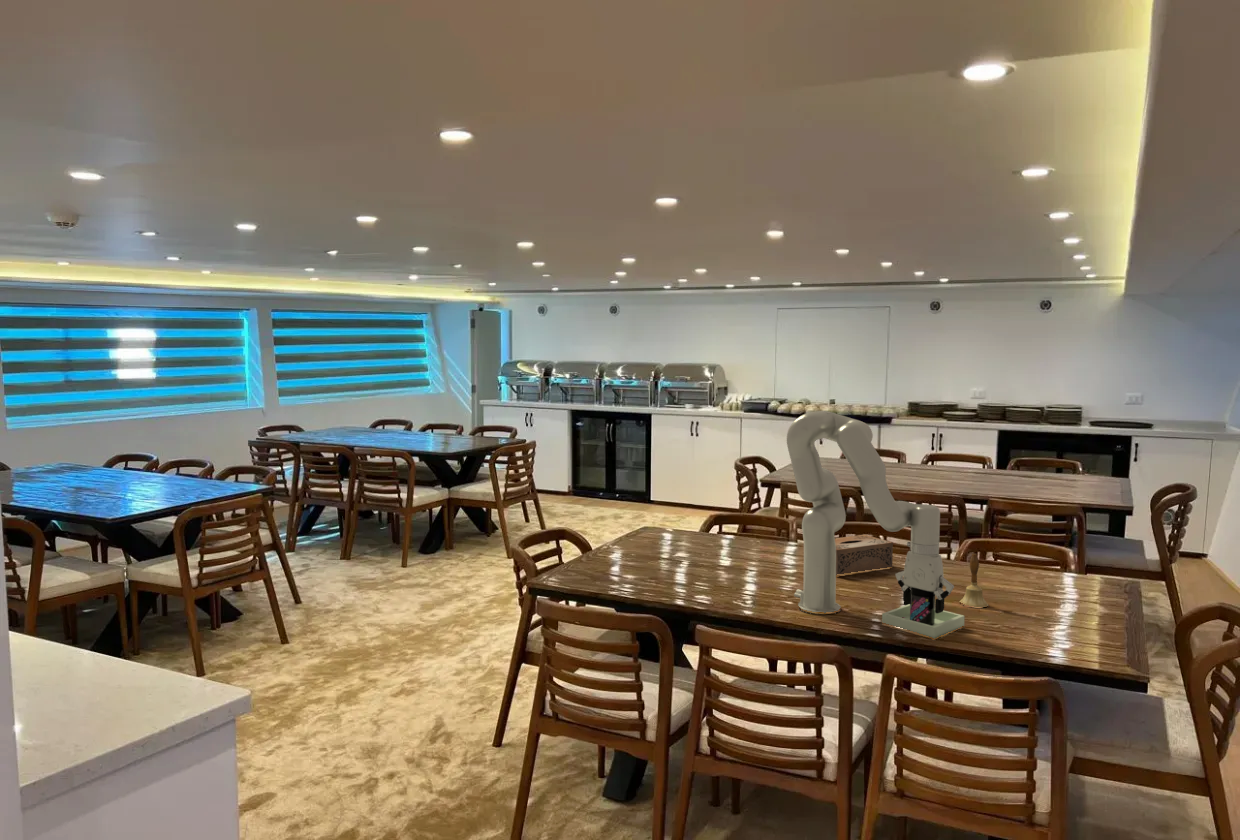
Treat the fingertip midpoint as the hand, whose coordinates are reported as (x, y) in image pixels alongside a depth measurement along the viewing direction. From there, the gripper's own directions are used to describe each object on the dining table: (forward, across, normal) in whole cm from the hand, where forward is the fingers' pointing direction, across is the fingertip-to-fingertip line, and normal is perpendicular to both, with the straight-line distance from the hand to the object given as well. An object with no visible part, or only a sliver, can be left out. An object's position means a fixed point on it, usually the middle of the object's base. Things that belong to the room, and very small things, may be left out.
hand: (923, 608), depth 230 cm
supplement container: (+5, 0, 0) cm, 5 cm away
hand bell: (+6, -1, +31) cm, 32 cm away
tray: (+5, 0, 0) cm, 5 cm away
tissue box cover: (+6, -51, +39) cm, 64 cm away
